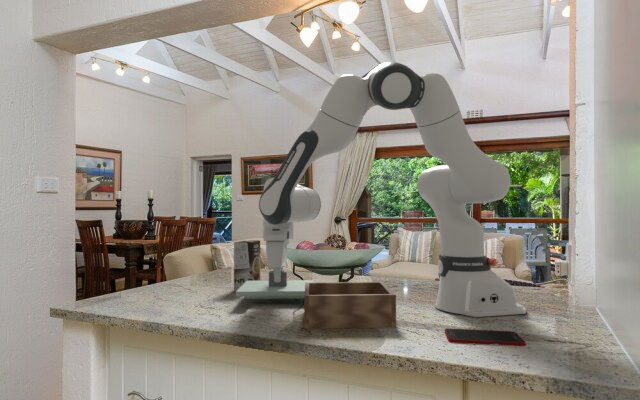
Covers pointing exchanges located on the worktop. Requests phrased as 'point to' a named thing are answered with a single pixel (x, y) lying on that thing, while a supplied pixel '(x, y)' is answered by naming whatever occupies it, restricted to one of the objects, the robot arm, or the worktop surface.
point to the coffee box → (246, 262)
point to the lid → (274, 288)
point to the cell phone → (484, 337)
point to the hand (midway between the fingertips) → (278, 280)
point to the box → (349, 305)
